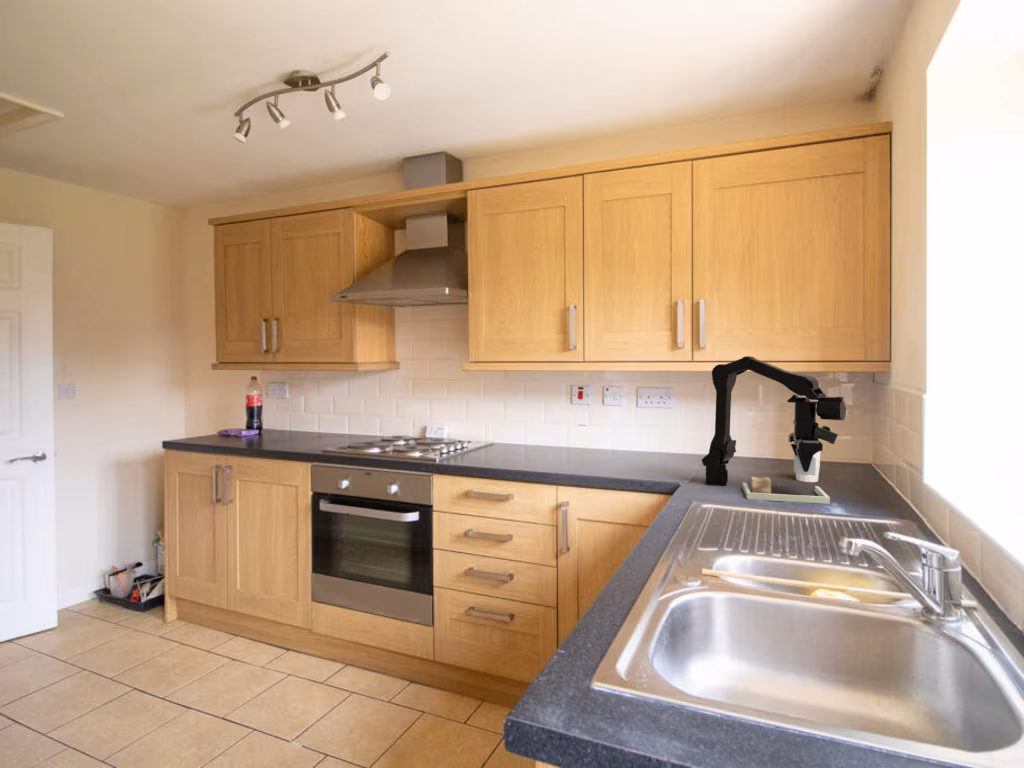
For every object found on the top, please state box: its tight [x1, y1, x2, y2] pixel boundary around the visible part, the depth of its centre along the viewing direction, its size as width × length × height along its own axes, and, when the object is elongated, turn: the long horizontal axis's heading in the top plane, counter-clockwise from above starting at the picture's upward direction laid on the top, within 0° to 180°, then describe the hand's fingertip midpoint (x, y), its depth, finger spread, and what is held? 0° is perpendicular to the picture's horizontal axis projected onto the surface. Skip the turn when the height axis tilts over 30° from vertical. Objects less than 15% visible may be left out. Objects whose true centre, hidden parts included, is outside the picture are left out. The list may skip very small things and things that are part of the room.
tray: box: [742, 482, 831, 505], centre depth 176 cm, size 22×15×2 cm
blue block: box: [793, 454, 816, 476], centre depth 174 cm, size 5×5×5 cm
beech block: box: [750, 476, 772, 494], centre depth 177 cm, size 5×5×5 cm
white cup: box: [795, 451, 822, 483], centre depth 197 cm, size 8×8×10 cm
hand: (804, 470), depth 174 cm, fingers closed on blue block, 5 cm apart
